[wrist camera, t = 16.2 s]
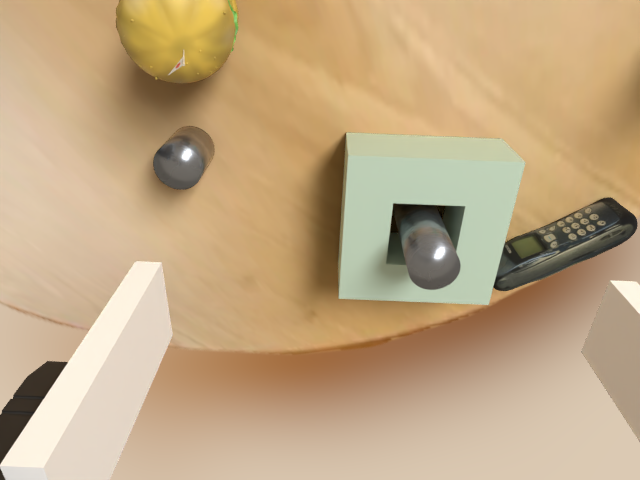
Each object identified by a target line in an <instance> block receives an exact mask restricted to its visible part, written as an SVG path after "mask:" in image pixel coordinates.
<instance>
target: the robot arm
mask: <svg viewBox="0 0 640 480" xmlns="http://www.w3.org/2000/svg"><path fill="white" fill-rule="evenodd" d="M172 335H173V334H172V327H171V321H170V314H169V308H168V301H167V295H166V288H165V281H164V275H163V268H162V262H138V261H135V263H134V264H133V266H132V267H131V269H130V270H129V272H128V273H127V275H126V276H125V278H124V279H123V281H122V282H121V284H120V285H119V287H118V288H117V290H116V291H115V293H114V294H113V296H112V297H111V299H110V300H109V302H108V303H107V305H106V306H105V308H104V309H103V311H102V312H101V314H100V315H99V317H98V318H97V320H96V321H95V323H94V324H93V326H92V327H91V329H90V330H89V332H88V333H87V335H86V336H85V338H84V339H83V341H82V342H81V344H80V345H79V347H78V348H77V350H76V351H75V353H74V355H73V356H72V357H71V359H70V360H69V362H52V361H47V362H46V363H45V364H43V365H42V366H41V367H39V368H38V369H37V370H36V371H34V372H33V373H32V374H30V375H29V376H28V377H27V378H26V379H25V380H24V382H23V383H22V385H21V386H20V387H19V388H18V390H17V391H16V393H15V394H14V397H13V399H10V401H9V402H8V403H7V405H6V406H5V407H4V409H3V410H2V414H1V415H0V480H110V479H111V476H112V474H113V472H114V469H115V467H116V465H117V462H118V460H119V458H120V456H121V453H122V451H123V449H124V446H125V444H126V442H127V439H128V437H129V435H130V432H131V430H132V428H133V426H134V423H135V421H136V419H137V416H138V414H139V412H140V409H141V407H142V405H143V402H144V400H145V398H146V395H147V393H148V391H149V389H150V386H151V384H152V382H153V379H154V377H155V374H156V372H157V370H158V368H159V365H160V363H161V361H162V358H163V356H164V354H165V352H166V349H167V347H168V345H169V342H170V340H171V338H172ZM581 352H582V354H583V355H584V357H585V358H586V360H587V361H588V363H589V364H590V366H591V367H592V369H593V370H594V372H595V374H596V375H597V377H598V378H599V380H600V381H601V383H602V384H603V386H604V387H605V389H606V391H607V392H608V394H609V395H610V397H611V398H612V399H613V401H614V403H615V404H616V406H617V407H618V409H619V410H620V412H621V414H622V415H623V417H624V418H625V420H626V421H627V423H628V424H629V426H630V427H631V429H632V431H633V432H634V434H635V435H636V437H637V438H638V440H639V441H640V285H639V284H638V283H637V282H634V281H632V282H631V281H609V284H608V286H607V289H606V291H605V294H604V296H603V299H602V301H601V304H600V306H599V309H598V311H597V314H596V316H595V319H594V321H593V324H592V326H591V329H590V331H589V334H588V336H587V338H586V341H585V344H584V346H583V348H582V351H581Z"/></svg>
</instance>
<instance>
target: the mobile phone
mask: <svg viewBox="0 0 640 480" xmlns="http://www.w3.org/2000/svg"><path fill="white" fill-rule="evenodd" d="M636 229H637V219H636V217H635V216H634V215H633V214H632V213H631V212H629V211H628V210H627V209H625V208H624V207H623V206H621V205H620V204H619V203H618V202H617V201H615V200H614V199H613V198H604V199H601V200H599V201H597V202H595V203H593V204H591V205H589V206H587V207H585V208H583V209H581V210H579V211H577V212H575V213H572V214H570V215H568V216H566V217H564V218H562V219H560V220H558V221H556V222H554V223H551V224H549V225H547V226H544V227H542V228H539V229H537V230H534V231H532V232H529V233H526V234H524V235H521V236H518V237H516V238H514V239H512V240H510V241H508V242H507V243H505V244H504V247H503V251H502V255H501V259H500V263H499V267H498V271H497V274H496V278H495V282H494V286H493V287H494V288H495V289H496V290H499V291H508V290H511V289H514V288H517V287H519V286H522V285H525V284H527V283H530V282H534V281H538V280H541V279H544V278H546V277H548V276H551V275H553V274H555V273H557V272H560V271H562V270H564V269H566V268H568V267H570V266H573V265H574V264H577V263H579V262H582V261H584V260H587V259H590V258H592V257H595V256H597V255H599V254H601V253H603V252H605V251H607V250H609V249H612V248H614V247H616V246H618V245H620V244H622V243H623V242H625V241H626V240H628V239H629V238H630V237H631V236H632V235H633V234H634V233H635V231H636Z"/></svg>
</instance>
